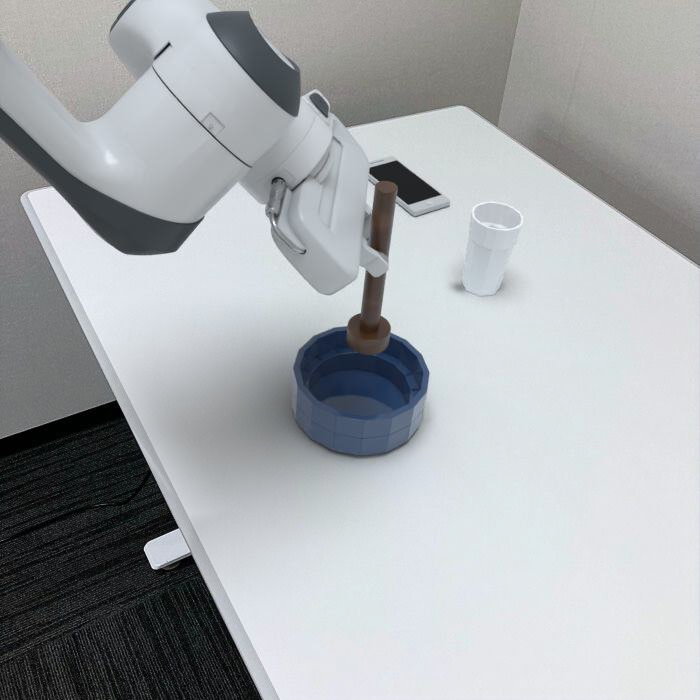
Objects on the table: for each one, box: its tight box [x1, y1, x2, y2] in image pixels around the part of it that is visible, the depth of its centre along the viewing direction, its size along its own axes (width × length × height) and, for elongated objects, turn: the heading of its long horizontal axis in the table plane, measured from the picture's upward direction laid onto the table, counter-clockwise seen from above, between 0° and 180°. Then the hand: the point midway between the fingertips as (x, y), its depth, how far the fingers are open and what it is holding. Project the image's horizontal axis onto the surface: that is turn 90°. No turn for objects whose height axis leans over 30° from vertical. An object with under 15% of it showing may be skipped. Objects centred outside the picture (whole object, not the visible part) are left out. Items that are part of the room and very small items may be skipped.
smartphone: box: [368, 155, 451, 217], centre depth 122 cm, size 7×16×1 cm, turn 34°
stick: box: [346, 181, 398, 355], centre depth 73 cm, size 4×4×18 cm
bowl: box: [291, 325, 431, 456], centre depth 85 cm, size 14×14×6 cm
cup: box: [461, 201, 525, 297], centre depth 102 cm, size 7×7×11 cm
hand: (384, 258), depth 72 cm, fingers closed on stick, 2 cm apart
